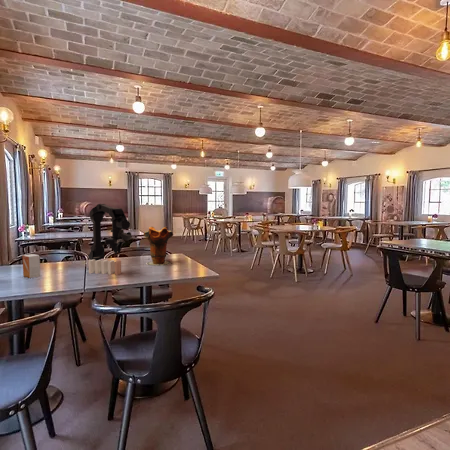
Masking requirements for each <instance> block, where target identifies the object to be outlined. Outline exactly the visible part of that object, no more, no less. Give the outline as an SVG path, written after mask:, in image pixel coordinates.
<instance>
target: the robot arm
mask: <svg viewBox="0 0 450 450" xmlns="http://www.w3.org/2000/svg"><path fill="white" fill-rule="evenodd" d="M105 214H108V216H109V217H110V218H111V219H110V221H111V230H110V233H112V234H111V236H110V237H109V238H105V240H104V243H105V244H108V245H109V246H110V247H111V248H112V250H113V252H114V253H115V255H117V254H120V253H121V250H122V246H123V245H124V244H125V243H126V241H127V242H128V241H130V240H131V238H132V237H133V235H132V232H131V231H128V232H124V230H128V229H129V228H130V227H131V223H130V221H129V220H128V218H127V217H126V215H125V212H124V210H123V208H121V207H113V206H109V205H107V204H106V203H98V204H97V205H96V206H95V207H92V208H91V209H90V211H89V217H90V218H89V219H90V221H91V222H92V237H93V238H92V239H93V240H92V241H93V244H92V245H91V247H90V251H89V254H88V256H87V257H88V260H89V261H90V260H93V259H94V260H95V261H97V260H102V259H104V258H105V246H103V244H102V229H101V228H102V225H101V224H102V221H104V216H105Z"/></svg>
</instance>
